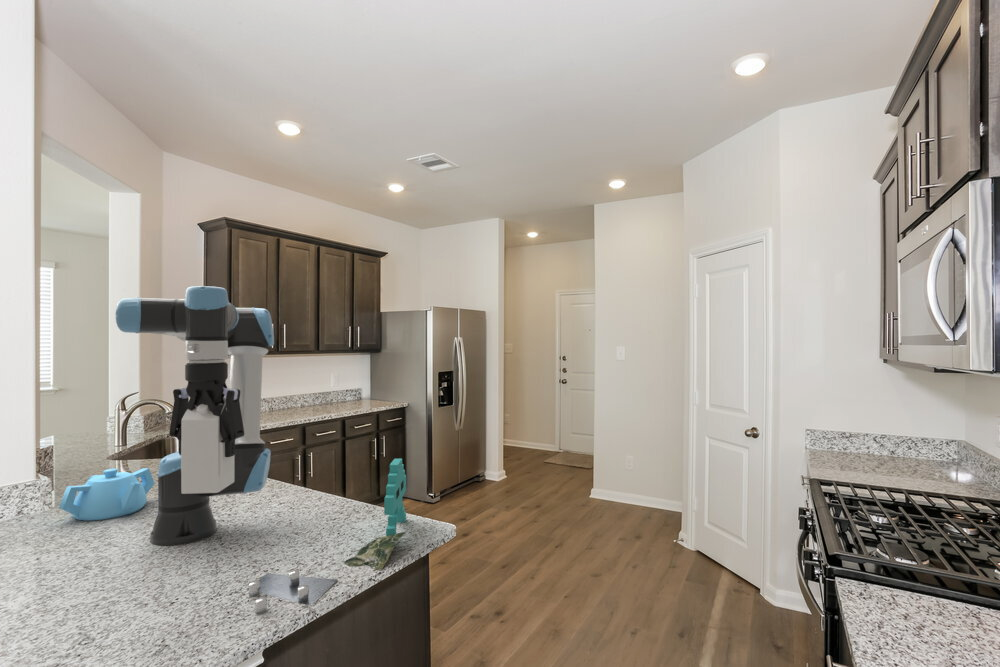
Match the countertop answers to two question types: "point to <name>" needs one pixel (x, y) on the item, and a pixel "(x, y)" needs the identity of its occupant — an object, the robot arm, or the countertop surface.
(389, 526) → the alien figure
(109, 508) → the teapot
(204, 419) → the milk carton
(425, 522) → the countertop surface
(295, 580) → the plate
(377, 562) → the topographical model
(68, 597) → the countertop surface
